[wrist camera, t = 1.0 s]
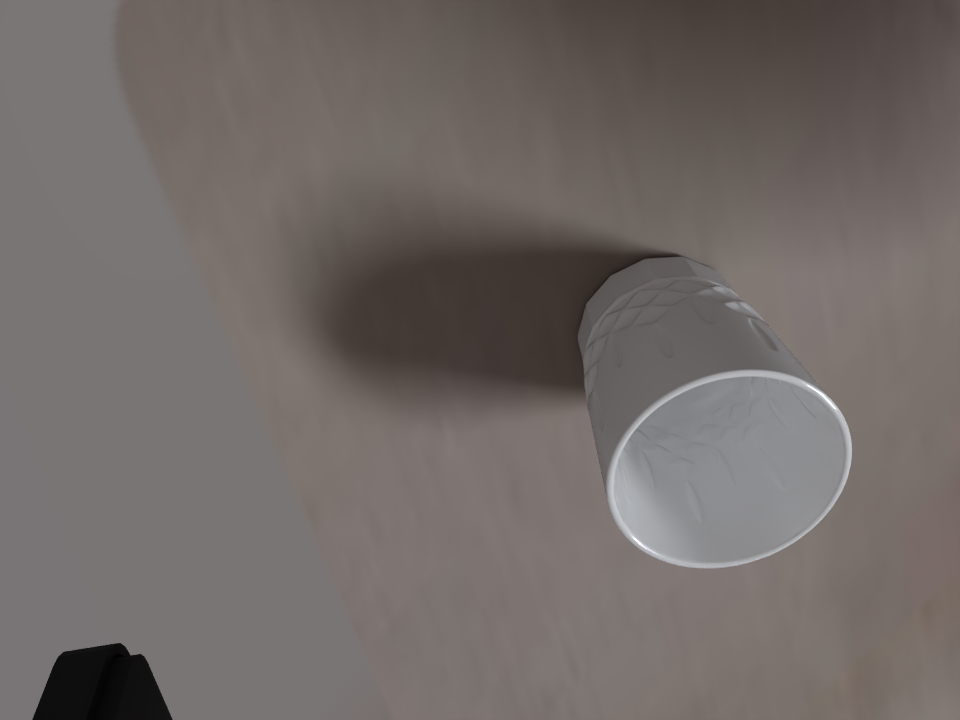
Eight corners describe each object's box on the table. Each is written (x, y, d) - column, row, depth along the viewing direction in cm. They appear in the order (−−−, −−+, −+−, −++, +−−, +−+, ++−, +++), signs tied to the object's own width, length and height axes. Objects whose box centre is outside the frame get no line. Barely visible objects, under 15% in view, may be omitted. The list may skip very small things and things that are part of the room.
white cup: (524, 323, 37) (556, 472, 28) (683, 200, 35) (770, 321, 26) (636, 439, 40) (695, 604, 32) (787, 334, 38) (896, 481, 29)
